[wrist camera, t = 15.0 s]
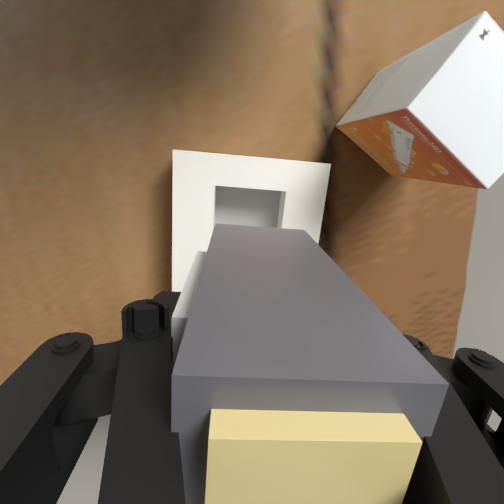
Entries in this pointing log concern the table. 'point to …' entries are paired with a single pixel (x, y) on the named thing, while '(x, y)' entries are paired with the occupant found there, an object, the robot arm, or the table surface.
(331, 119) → the table surface
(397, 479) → the plug
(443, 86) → the small box
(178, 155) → the socket
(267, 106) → the table surface
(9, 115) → the table surface
